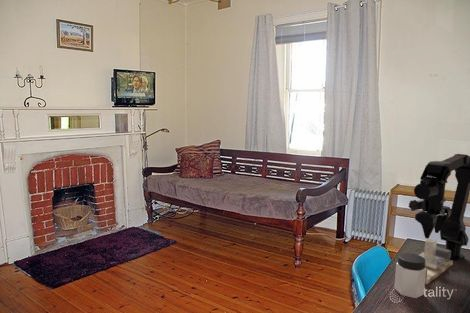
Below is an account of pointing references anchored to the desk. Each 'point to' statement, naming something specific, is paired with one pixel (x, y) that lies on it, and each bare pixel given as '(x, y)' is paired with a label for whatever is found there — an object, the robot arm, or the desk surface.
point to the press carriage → (431, 255)
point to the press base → (434, 273)
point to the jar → (410, 275)
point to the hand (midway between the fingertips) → (431, 235)
